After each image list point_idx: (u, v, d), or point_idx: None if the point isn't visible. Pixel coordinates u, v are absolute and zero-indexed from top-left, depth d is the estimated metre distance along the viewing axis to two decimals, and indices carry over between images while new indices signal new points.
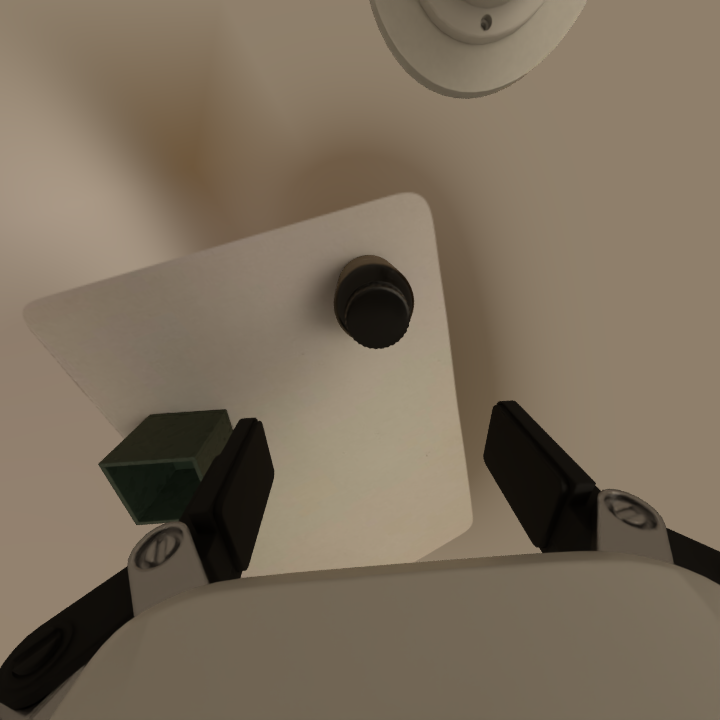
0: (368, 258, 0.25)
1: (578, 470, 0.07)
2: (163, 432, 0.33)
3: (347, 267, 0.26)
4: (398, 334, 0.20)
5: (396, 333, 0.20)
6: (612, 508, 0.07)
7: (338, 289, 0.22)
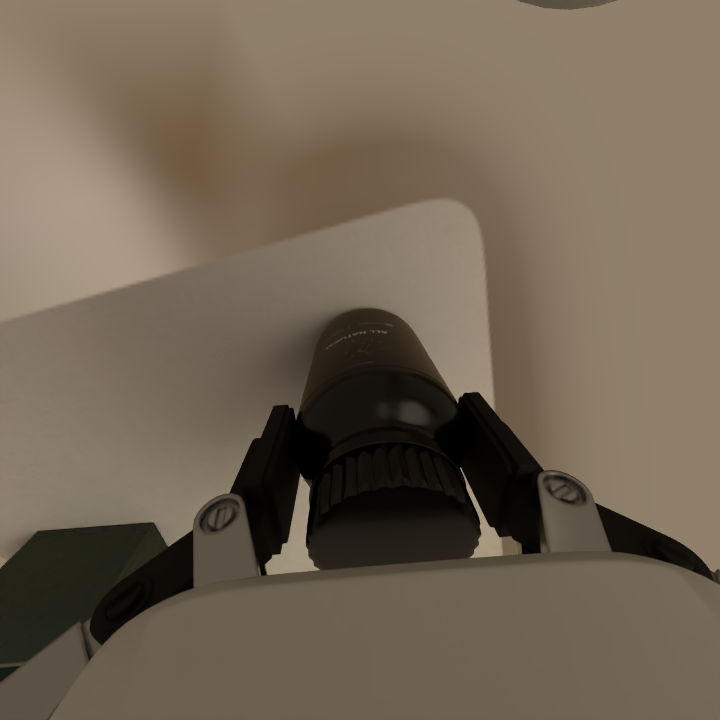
0: (368, 330, 0.13)
1: (523, 453, 0.08)
2: (39, 580, 0.20)
3: (327, 344, 0.13)
4: None
5: None
6: (550, 489, 0.07)
7: (300, 423, 0.10)
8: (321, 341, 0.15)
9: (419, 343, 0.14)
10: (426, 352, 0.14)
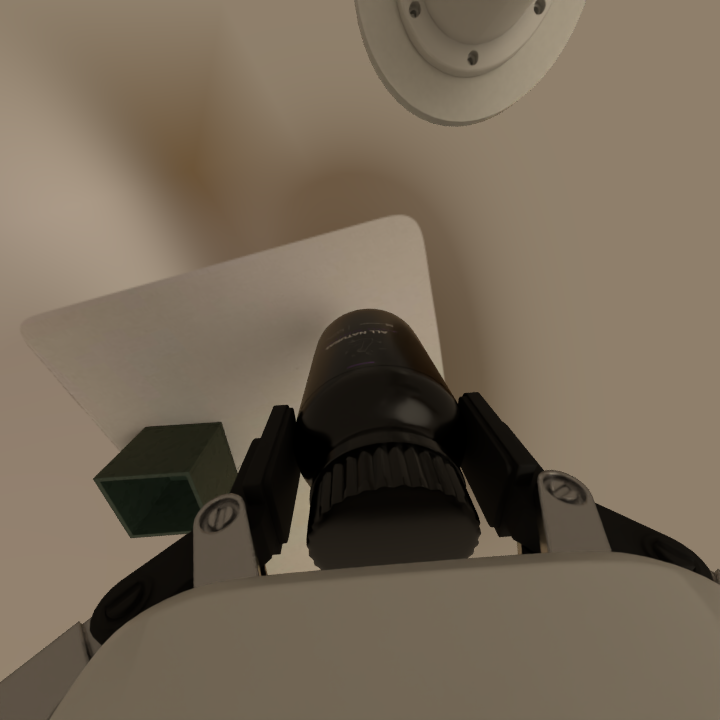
0: (368, 330, 0.13)
1: (523, 453, 0.08)
2: (158, 445, 0.33)
3: (327, 344, 0.13)
4: None
5: None
6: (550, 489, 0.07)
7: (300, 423, 0.10)
8: (321, 341, 0.15)
9: (419, 343, 0.14)
10: (426, 352, 0.14)
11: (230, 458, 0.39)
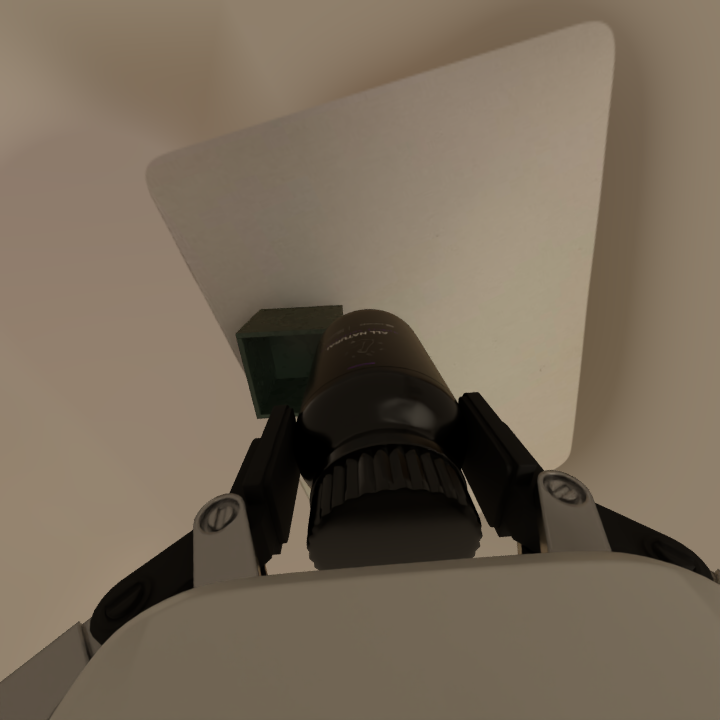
0: (368, 330, 0.13)
1: (523, 453, 0.08)
2: (288, 317, 0.30)
3: (328, 344, 0.13)
4: None
5: None
6: (550, 489, 0.07)
7: (300, 425, 0.10)
8: (321, 342, 0.15)
9: (420, 344, 0.14)
10: (427, 353, 0.14)
11: None
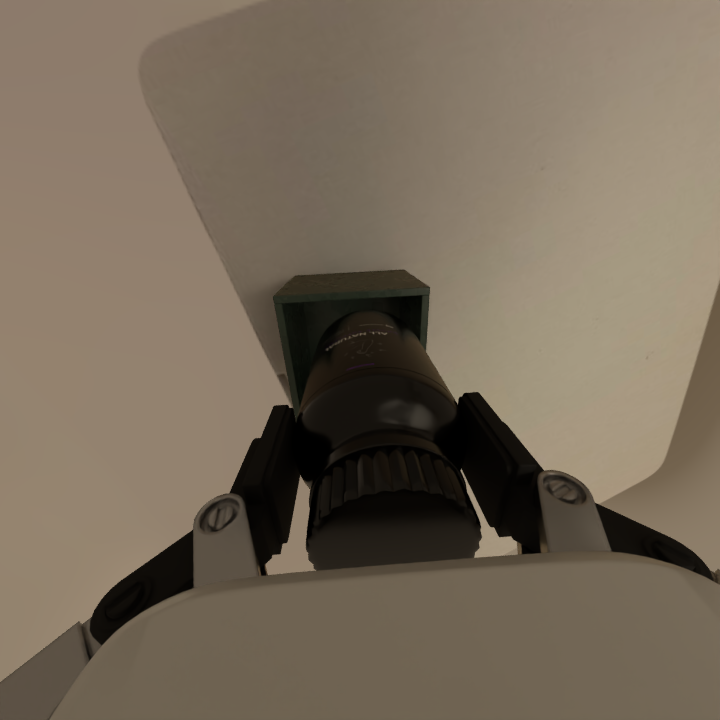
0: (368, 331, 0.13)
1: (523, 453, 0.08)
2: (339, 280, 0.21)
3: (327, 345, 0.13)
4: None
5: None
6: (550, 489, 0.07)
7: (299, 426, 0.10)
8: (321, 342, 0.15)
9: (419, 344, 0.14)
10: (426, 353, 0.14)
11: None
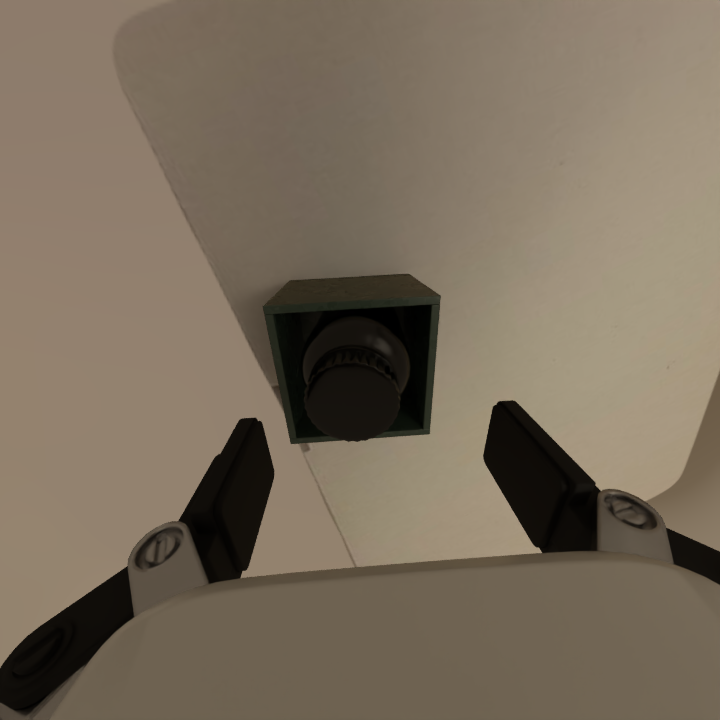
0: None
1: (578, 470, 0.07)
2: (338, 286, 0.19)
3: None
4: (381, 426, 0.14)
5: (378, 424, 0.14)
6: (612, 508, 0.07)
7: (305, 347, 0.16)
8: None
9: (392, 312, 0.20)
10: (396, 318, 0.20)
11: None
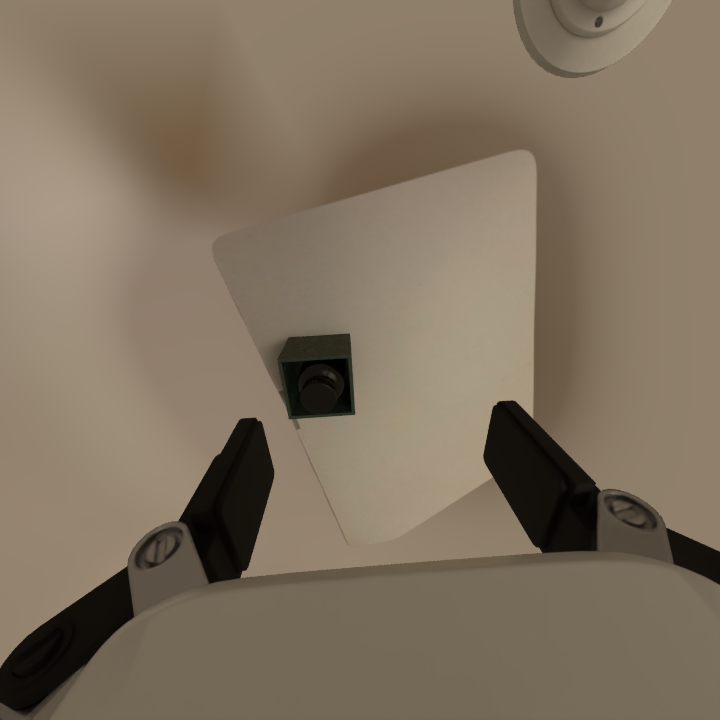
0: None
1: (578, 470, 0.07)
2: (311, 345, 0.41)
3: None
4: (330, 407, 0.36)
5: (329, 406, 0.36)
6: (612, 508, 0.07)
7: (299, 376, 0.38)
8: None
9: None
10: None
11: None
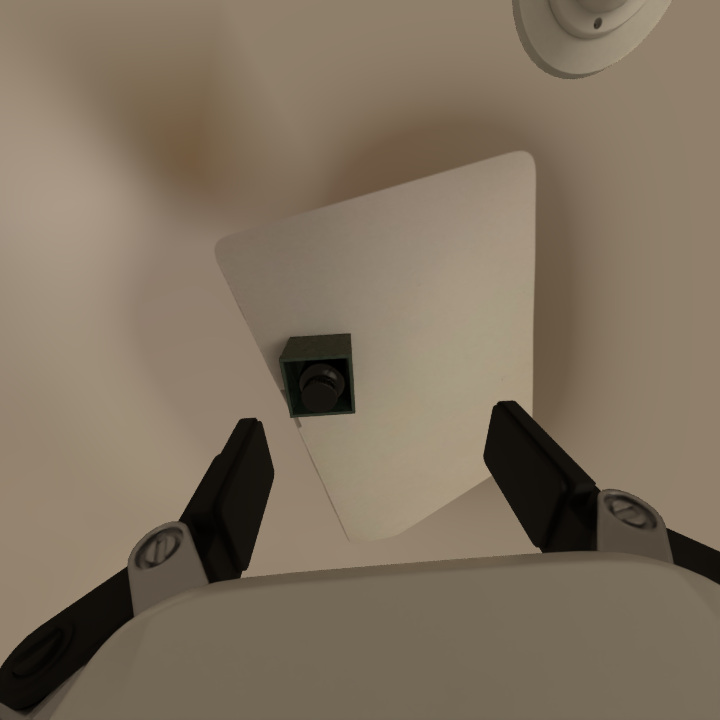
0: None
1: (578, 470, 0.07)
2: (312, 344, 0.42)
3: None
4: (330, 406, 0.37)
5: (329, 405, 0.37)
6: (612, 508, 0.07)
7: (300, 375, 0.38)
8: None
9: None
10: (341, 358, 0.42)
11: None
